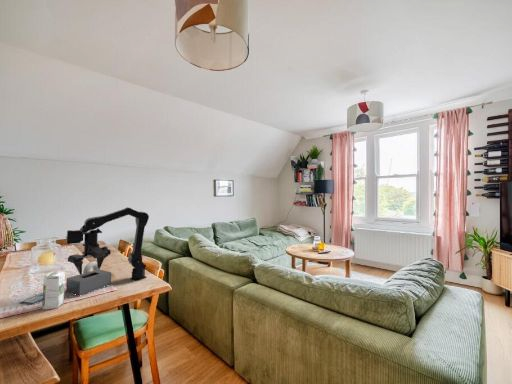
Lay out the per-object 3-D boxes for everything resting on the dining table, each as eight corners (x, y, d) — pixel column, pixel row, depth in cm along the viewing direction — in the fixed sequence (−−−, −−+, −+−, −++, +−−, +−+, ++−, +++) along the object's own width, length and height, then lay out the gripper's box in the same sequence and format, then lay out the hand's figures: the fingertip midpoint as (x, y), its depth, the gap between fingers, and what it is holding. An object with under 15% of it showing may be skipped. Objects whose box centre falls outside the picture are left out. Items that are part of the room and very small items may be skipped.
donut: (86, 282, 133) (86, 264, 134) (81, 281, 134) (81, 263, 134) (100, 276, 143) (101, 259, 143) (96, 275, 144) (96, 259, 144)
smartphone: (18, 302, 107) (51, 288, 122) (18, 304, 107) (51, 290, 122) (32, 304, 106) (63, 289, 121) (32, 306, 106) (63, 291, 121)
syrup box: (48, 304, 107) (49, 272, 107) (64, 302, 109) (65, 271, 109) (41, 310, 102) (42, 276, 102) (58, 308, 104) (59, 275, 104)
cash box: (97, 281, 135) (98, 269, 135) (110, 285, 130) (111, 272, 130) (66, 291, 120) (66, 278, 120) (79, 296, 116) (79, 282, 116)
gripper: (81, 247, 114) (80, 279, 114) (117, 240, 131) (116, 268, 131) (67, 244, 118) (66, 275, 118) (104, 238, 135) (103, 265, 135)
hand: (90, 271), depth 125 cm, fingers open, 9 cm apart
